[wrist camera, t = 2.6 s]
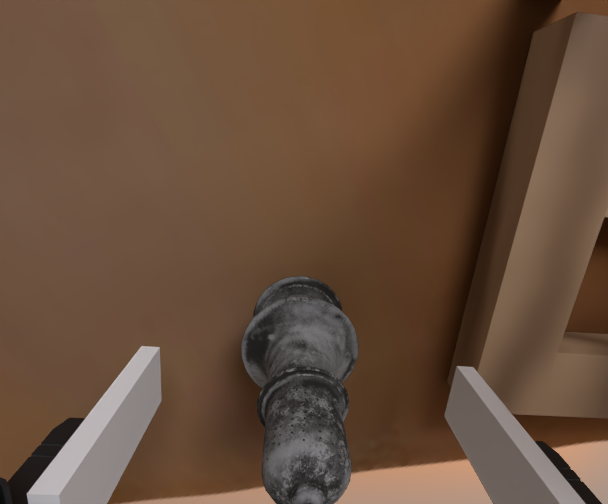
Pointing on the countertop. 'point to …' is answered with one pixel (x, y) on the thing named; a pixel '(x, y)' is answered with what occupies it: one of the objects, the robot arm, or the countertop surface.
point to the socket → (545, 233)
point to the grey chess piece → (302, 389)
